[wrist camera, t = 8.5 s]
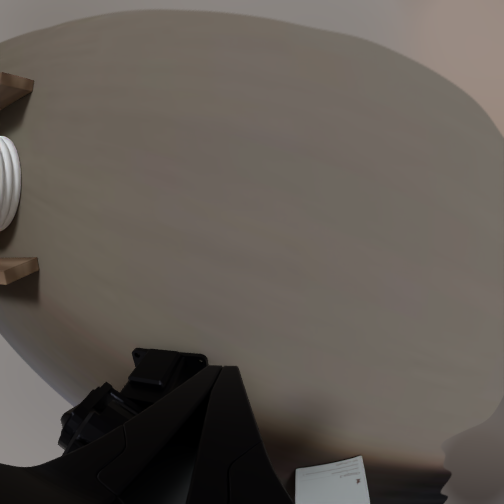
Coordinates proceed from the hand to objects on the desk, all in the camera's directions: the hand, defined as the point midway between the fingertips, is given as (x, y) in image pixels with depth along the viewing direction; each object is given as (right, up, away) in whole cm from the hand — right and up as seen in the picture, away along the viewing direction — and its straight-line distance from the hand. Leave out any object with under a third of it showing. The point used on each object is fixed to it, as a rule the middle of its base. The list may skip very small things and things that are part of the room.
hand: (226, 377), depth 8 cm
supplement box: (+10, -22, +17) cm, 29 cm away
